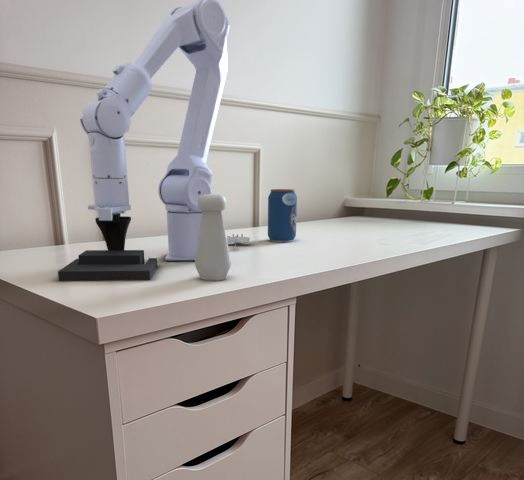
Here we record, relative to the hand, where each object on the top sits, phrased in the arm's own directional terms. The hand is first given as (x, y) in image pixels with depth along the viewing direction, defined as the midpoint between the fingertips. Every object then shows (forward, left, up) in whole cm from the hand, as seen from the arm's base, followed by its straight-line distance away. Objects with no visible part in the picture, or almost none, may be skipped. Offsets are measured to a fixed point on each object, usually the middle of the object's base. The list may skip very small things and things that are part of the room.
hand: (116, 258), depth 92 cm
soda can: (-34, -34, -2) cm, 48 cm away
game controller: (-22, -24, -2) cm, 33 cm away
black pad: (0, +6, -1) cm, 6 cm away
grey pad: (0, +3, -1) cm, 4 cm away
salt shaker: (-17, +11, -2) cm, 20 cm away
